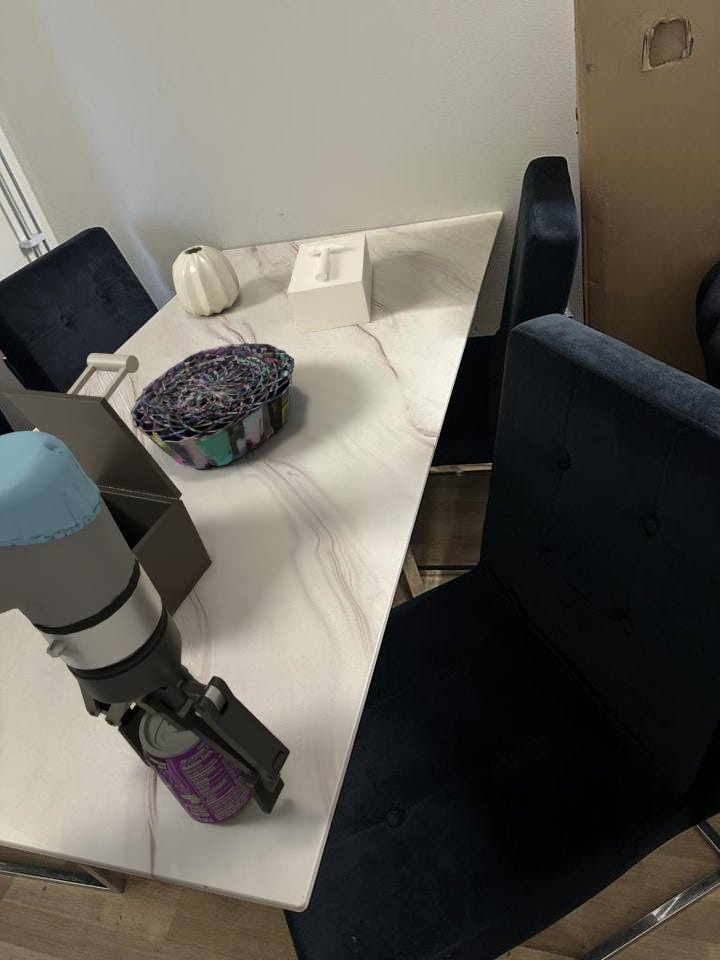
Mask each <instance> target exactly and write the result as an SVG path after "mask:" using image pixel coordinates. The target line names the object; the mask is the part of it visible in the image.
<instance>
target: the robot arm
mask: <svg viewBox="0 0 720 960" xmlns="http://www.w3.org/2000/svg"><path fill="white" fill-rule="evenodd" d="M17 609H18V611H20V612H21V613H22V615H23V616H24V617H26V619H28V621H29V622H30V624H31V625H32V626H33V627H34V629H36V630H37V632H39V633H40V635H41V636H42V637H43V638H44V639H45V640H46V642H47V643H48V644H49V645H48V646H47V647H46V654H48V655H49V656H50V657H51V658H52V659H56V658H60V659H61V661H62V662H63V663H64V664H65V665H66V668H67V669H68V670H69V672H70V673H71V674H72V676H73V677H74V678H75V679H76V680H77V682H78V686H79V690H80V694H81V697H82V700H83V703H84V707H85V710H86V712H87V713H88V715H90V716H91V717H95V718H98V717H100V715H101V714H102V715H104V716H105V717H104V721H105V722H106V723H107V725H109V726H111V727H112V726H113V727H117V731H118V733H119V734H120V735H121V736H122V738H123V739H124V740H125V741H126V743H127V744H128V745H129V746H130V748H131V749H132V750H133V751H134V753H136V755H137V756H138V757H139V759H140V760H141V761H142V762H143V763H144V765H145V766H146V767H148V768H151V769H152V767H151V766H150V765H149V764H148V762H147V761H146V759H145V757H144V754H143V749H142V743H141V741H140V737H139V728H140V723H141V720H142V718H143V716H144V714H145V712H146V711H147V712H149V713H150V714H152V715H158V716H160V717H161V718H163V719H164V720H165V721H166V722H168V723H169V724H170V725H172V726H173V727H174V728H176V729H177V730H178V731H180V732H184V731H188V730H190V731H191V732H192V733H194V734H195V735H196V736H198V737H199V738H200V739H202V740H203V741H204V742H206V743H207V744H208V745H210V746H211V747H212V748H213V749H215V750H216V751H217V752H219V753H220V754H221V755H223V756H224V757H225V758H227V759H228V760H229V761H231V762H232V763H233V764H235V765H236V766H237V767H238V768H240V769H241V770H242V771H241V773H240V777H241V778H242V780H243V782H244V783H243V784H244V785H246V786H247V788H248V789H249V791H250V793H251V794H252V796H251V797H252V798H253V799H254V800H255V802H256V804H257V805H258V807H259V808H260V810H261V812H263V813H265V814H268V815H271V813H272V811H273V810H274V807H275V805H276V803H277V801H278V799H279V797H280V796H281V793H282V791H283V790H284V787H285V785H286V784H285V782H284V780H283V778H282V777H281V776H282V774H281V771H282V770H283V767H284V765H285V763H286V762H287V760H288V757H289V756H290V754H291V750H290V749H289V748H288V747H287V746H286V745H285V744H284V743H283V742H282V741H281V740H280V739H279V738H278V737H277V736H276V735H275V734H274V733H273V732H272V731H271V730H270V729H269V728H268V727H267V726H266V725H265V724H264V723H263V722H261V720H260V719H259V718H257V716H255V714H254V713H253V712H252V711H250V710H249V709H248V707H246V706H245V705H244V703H242V702H241V701H240V699H238V698H237V696H235V695H234V693H233V691H232V690H231V687H229V685H228V683H227V682H226V681H225V680H224V679H223V678H222V677H220V676H217V675H213V676H212V677H211V678H210V679H209V681H208V682H207V684H205V683H201V682H200V681H199V680H198V679H196V678H195V677H194V676H193V674H191V672H190V671H189V669H188V667H186V666H185V665H184V664H182V653H183V652H182V651H183V638H182V634H181V631H180V629H179V627H178V625H177V624H176V623H175V621H174V619H173V616H170V614H169V612H168V611H167V609H166V607H165V606H164V604H163V603H162V602H161V597H160V596H159V594H158V592H157V591H156V589H155V587H154V586H153V584H152V582H151V581H150V579H149V577H148V576H147V574H146V573H145V571H144V569H143V568H142V566H141V564H140V563H139V561H138V560H137V558H136V556H135V555H134V554H133V553H132V551H131V550H130V548H129V546H128V544H127V543H126V541H125V539H124V537H123V535H122V534H121V532H120V530H119V528H118V527H117V525H116V523H115V521H114V519H113V518H112V516H111V514H110V512H109V510H108V508H107V506H106V505H105V503H104V501H103V499H102V497H101V495H100V491H99V489H98V487H97V485H96V484H94V483H93V481H92V480H91V479H90V478H88V476H87V475H86V473H85V472H84V470H83V469H82V467H81V466H80V464H79V463H78V461H77V460H76V459H75V457H74V456H73V454H72V453H71V451H70V450H69V448H68V447H67V446H66V445H65V444H64V443H63V442H62V441H61V440H60V439H58V438H57V437H55V436H53V435H51V434H48V433H44V432H40V431H39V430H23V431H22V430H21V431H14V432H9V433H5V434H2V435H0V615H2V614H4V613H6V612H10V611H12V610H17ZM188 699H191V700H193V701H194V702H193V703H192V705H191V706H190V708H189V709H188V711H187V712H186V714H185V716H184V717H183V718H181V717H180V716H179V715H177V714H178V713H179V712H180V711H181V709H182V708H183V706H184V705H185V703H186V702H187V700H188ZM133 704H134V706H133V707H132V705H133Z"/></svg>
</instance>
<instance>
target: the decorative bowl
mask: <svg viewBox="0 0 720 960" xmlns="http://www.w3.org/2000/svg"><path fill="white" fill-rule="evenodd" d="M294 368H295V358H294V357H292V356H291V355H289V354H288V353H287V352H286V350H284V349H280V348H278V347H277V346H274V345H272V344H270V343H247V342H244V343H228V344H223V345H217V346H215V347H213V348H207V349H203V350H200V351H198V352H196V353H193V354H191V355H189V356H187V357H186V358H184V359H183V360H182V361H180V362H178V363H176V364H174V365H173V366H171V367H169V368H168V369H167V370H166V371H164V372H163V373H162V374H160V375H159V376H158V377H157V378H155V379H153V380H152V381H151V382H150V383H149V384H147V386H145V387H144V388H143V389H142V390H141V393H140V395H139V396H138V397H137V398H136V399H135V403H134V404H133V407H132V409H131V411H130V416H131V418H132V425H133V428H135V429H137V430H138V431H139V432H141V433H142V434H143V435H144V436H146V437H147V438H148V439H149V440H150V441H152V443H154V444H155V445H156V446H157V448H159V449H161V450H162V451H163V453H165V454H166V455H167V456H169V457H170V458H171V459H173V460H174V461H175V462H176V463H178V464H179V465H183V466H187V465H188V466H189V467H191V468H192V469H195V470H198V471H201V470H206V469H208V468H209V467H211V466H216V467H224V466H226V465H229V464H230V463H232V461H233V460H234V461H235V460H237V459H239V458H241V457H243V456H244V455H245V454H246V453H247V452H248V451H253V450H256V448H258V447H260V446H261V445H262V444H263V442H264V441H265V440H268V439H269V438H270V437H271V435H273V434H277V433H279V432H281V431H282V430H283V429H284V428H285V427H286V426H287V420H288V411H289V406H290V402H291V401H290V400H291V389H292V388H291V387H292V384H293V376H292V374H293V372H294Z"/></svg>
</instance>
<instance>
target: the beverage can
mask: <svg viewBox="0 0 720 960" xmlns="http://www.w3.org/2000/svg"><path fill="white" fill-rule="evenodd" d="M193 702H194V701H193V700H191V699H188V700H187V702H186V703H185V705H184V706H183V708H182V709H181V711H180V712H179V713H178V714H177V715H179V716H180V717H181V718H183V717H184V716H185V714H186V712H187V711H188V709H189V708H190V706H191V705H192V703H193ZM139 737H140V741H141V743H142V749H143V754H144V757H145V759H146V761H147V762H148V764H149V765H150V766H151V767H152V768H151V767H150V768H151V769H152V770H153V772H154V773H155V774H156V775H157V777H158V778H159V779H160V780H161V782H162V783H163V784H164V785H165V787H166V788H167V790H168V791H169V792H170V793H171V794H172V795H173V797H174V798H175V799H176V801H177V802H178V803H179V804H180V806H181V807H182V808H183V810H184V811H185V813H187V815H188V816H189V817H190V818H191V819H192V820H194V821H196V822H198V823H201V824H204V825H205V824H206V825H214V824H219V823H222V822H225V821H228V820H230V819H232V818H233V817H235V816H236V815H237V814H238V813H239V812H241V811H242V810H243V809H244V808H245V807H246V805H247V804H248V802H250V800H251V798H252V797H253V796H252V794H251V793H250V791H249V789H248V788H247V786H246V785H244V784H243V783H244V782H243V780H242V778H241V777H240V773H241V771H242V770H241V769H240V768H238V767H237V766H236V765H235V764H233V763H232V762H231V761H229V760H228V759H227V758H225V757H224V756H223V755H221V754H220V753H219V752H217V751H216V750H215V749H213V748H212V747H211V746H210V745H208V744H207V743H206V742H204V741H203V740H202V739H200V738H199V737H198V736H196V735H195V734H194V733H192V732H191V731H190V730H188V731H184V732H180V731H178V730H177V729H176V728H174V727H173V726H172V725H170V724H169V723H168V722H166V721H165V720H164V719H163V718H161V717H160V716H158V715H152V714H150V713H149V712H147V711H146V712H145V714H144V716H143V718H142V720H141V723H140V728H139Z"/></svg>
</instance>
